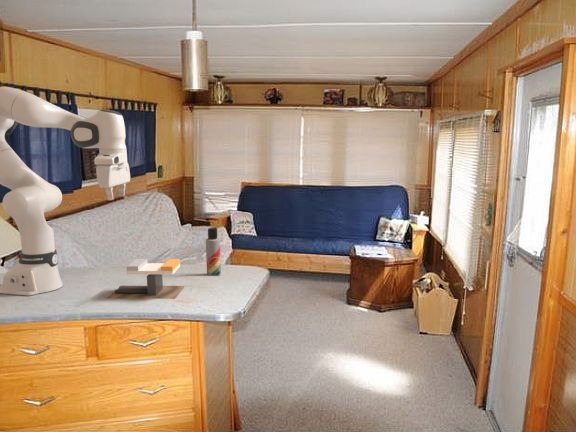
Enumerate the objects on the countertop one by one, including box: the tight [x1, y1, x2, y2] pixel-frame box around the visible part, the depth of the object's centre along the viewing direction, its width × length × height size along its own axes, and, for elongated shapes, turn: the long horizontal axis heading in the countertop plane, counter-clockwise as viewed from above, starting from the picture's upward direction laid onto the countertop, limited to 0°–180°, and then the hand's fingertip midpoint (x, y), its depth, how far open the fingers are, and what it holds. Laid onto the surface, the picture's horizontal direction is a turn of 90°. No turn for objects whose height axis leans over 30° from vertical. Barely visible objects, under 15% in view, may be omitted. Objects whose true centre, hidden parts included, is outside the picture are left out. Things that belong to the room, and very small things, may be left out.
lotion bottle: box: [205, 226, 222, 277], centre depth 199 cm, size 6×6×20 cm
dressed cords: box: [114, 285, 148, 294], centre depth 175 cm, size 12×5×1 cm, turn 87°
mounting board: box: [106, 284, 186, 300], centre depth 175 cm, size 24×14×2 cm, turn 87°
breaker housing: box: [146, 274, 164, 296], centre depth 175 cm, size 3×8×7 cm, turn 178°
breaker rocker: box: [126, 258, 181, 275], centre depth 174 cm, size 16×10×3 cm, turn 87°
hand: (116, 198), depth 170 cm, fingers open, 8 cm apart
